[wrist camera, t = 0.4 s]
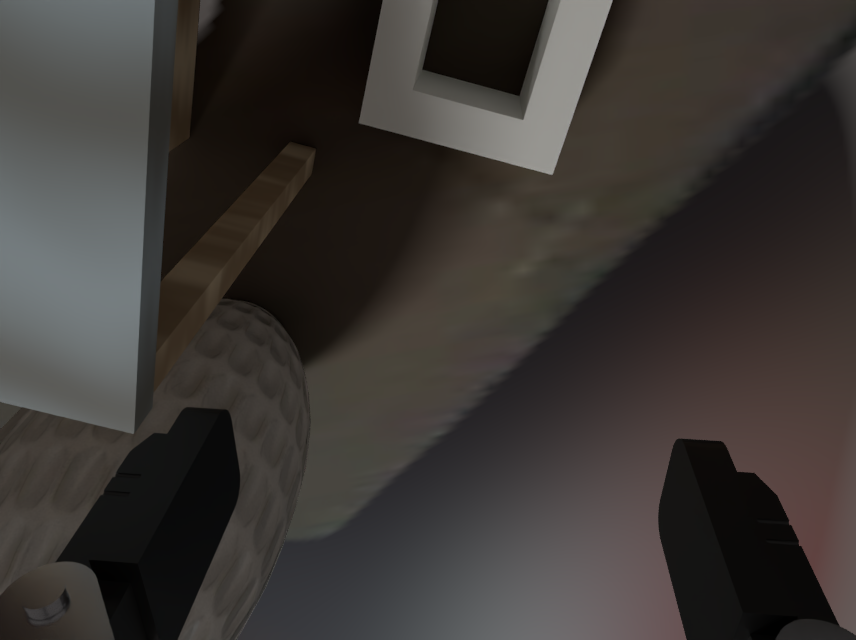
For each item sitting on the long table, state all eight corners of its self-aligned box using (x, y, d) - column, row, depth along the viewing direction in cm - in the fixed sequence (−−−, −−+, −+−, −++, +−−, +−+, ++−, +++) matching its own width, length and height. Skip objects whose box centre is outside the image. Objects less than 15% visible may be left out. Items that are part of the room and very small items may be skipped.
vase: (294, 454, 48) (86, 1012, 23) (114, 369, 46) (-325, 889, 21) (379, 313, 42) (222, 859, 17) (179, 208, 40) (-325, 666, 15)
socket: (415, -102, 32) (403, -106, 27) (608, -47, 32) (627, -42, 28) (374, 98, 36) (358, 123, 32) (545, 144, 36) (552, 174, 32)
